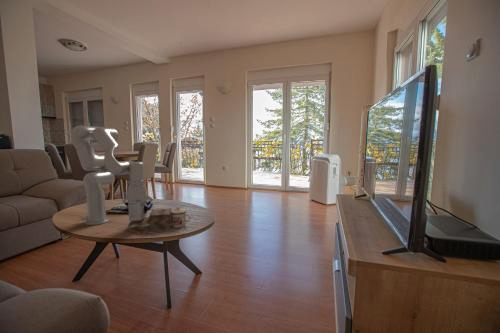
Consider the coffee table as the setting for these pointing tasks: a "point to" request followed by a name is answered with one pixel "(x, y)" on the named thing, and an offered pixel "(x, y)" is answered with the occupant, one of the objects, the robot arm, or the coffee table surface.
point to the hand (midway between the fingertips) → (138, 212)
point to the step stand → (152, 221)
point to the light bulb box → (136, 211)
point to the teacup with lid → (178, 217)
